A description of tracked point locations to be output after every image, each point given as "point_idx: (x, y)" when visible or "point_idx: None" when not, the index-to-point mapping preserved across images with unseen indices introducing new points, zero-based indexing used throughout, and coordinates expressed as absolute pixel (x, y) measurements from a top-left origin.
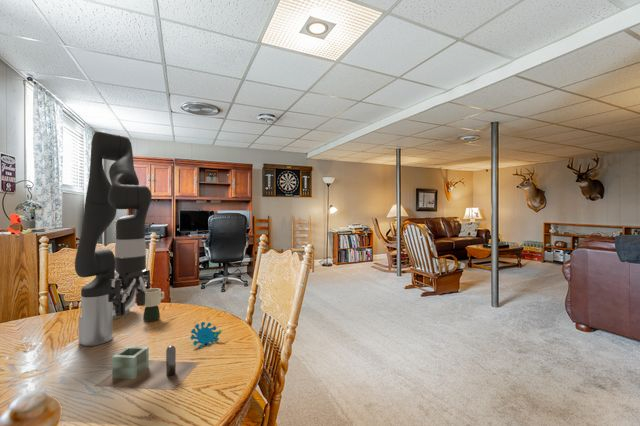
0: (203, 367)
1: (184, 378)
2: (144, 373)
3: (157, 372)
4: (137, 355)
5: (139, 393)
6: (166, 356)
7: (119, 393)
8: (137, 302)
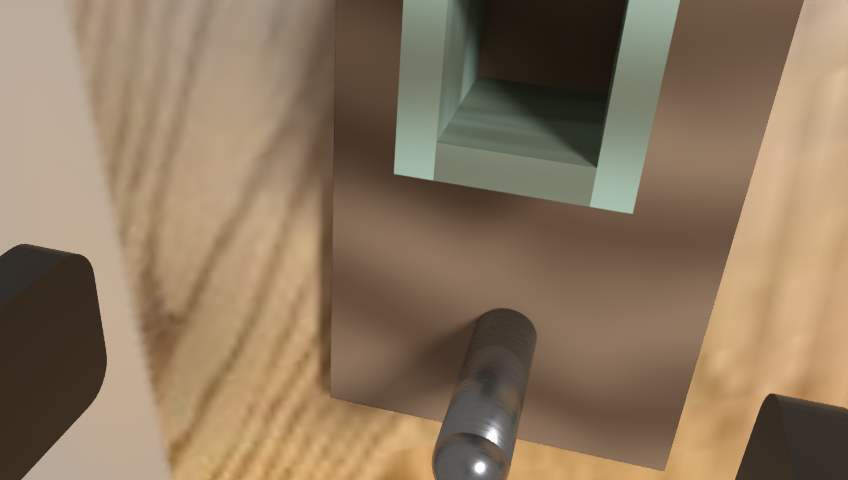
0: (647, 474)
1: None
2: None
3: (535, 237)
4: (447, 180)
5: None
6: (454, 406)
7: (325, 52)
8: (775, 462)
